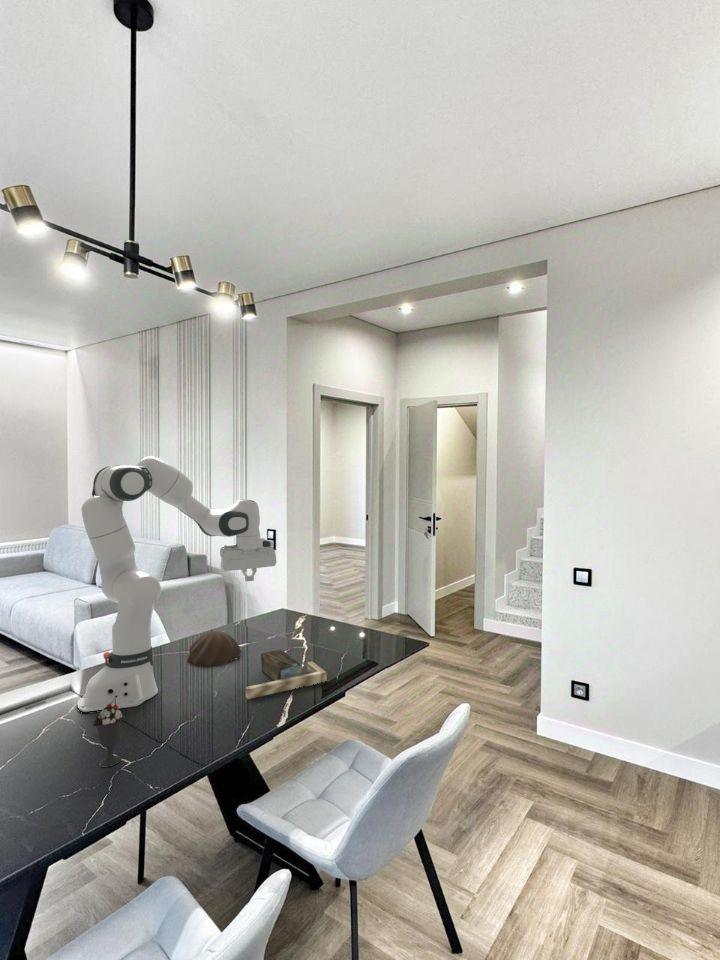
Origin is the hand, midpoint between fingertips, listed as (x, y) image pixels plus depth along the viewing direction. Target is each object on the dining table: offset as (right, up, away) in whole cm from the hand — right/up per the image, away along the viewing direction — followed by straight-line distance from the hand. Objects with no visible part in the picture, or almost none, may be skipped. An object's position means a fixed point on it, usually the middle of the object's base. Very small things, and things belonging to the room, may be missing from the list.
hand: (249, 580), depth 192 cm
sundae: (-18, -30, -69) cm, 77 cm away
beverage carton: (+14, -29, -17) cm, 37 cm away
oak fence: (+16, -29, -24) cm, 40 cm away
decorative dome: (-14, -30, +4) cm, 33 cm away
